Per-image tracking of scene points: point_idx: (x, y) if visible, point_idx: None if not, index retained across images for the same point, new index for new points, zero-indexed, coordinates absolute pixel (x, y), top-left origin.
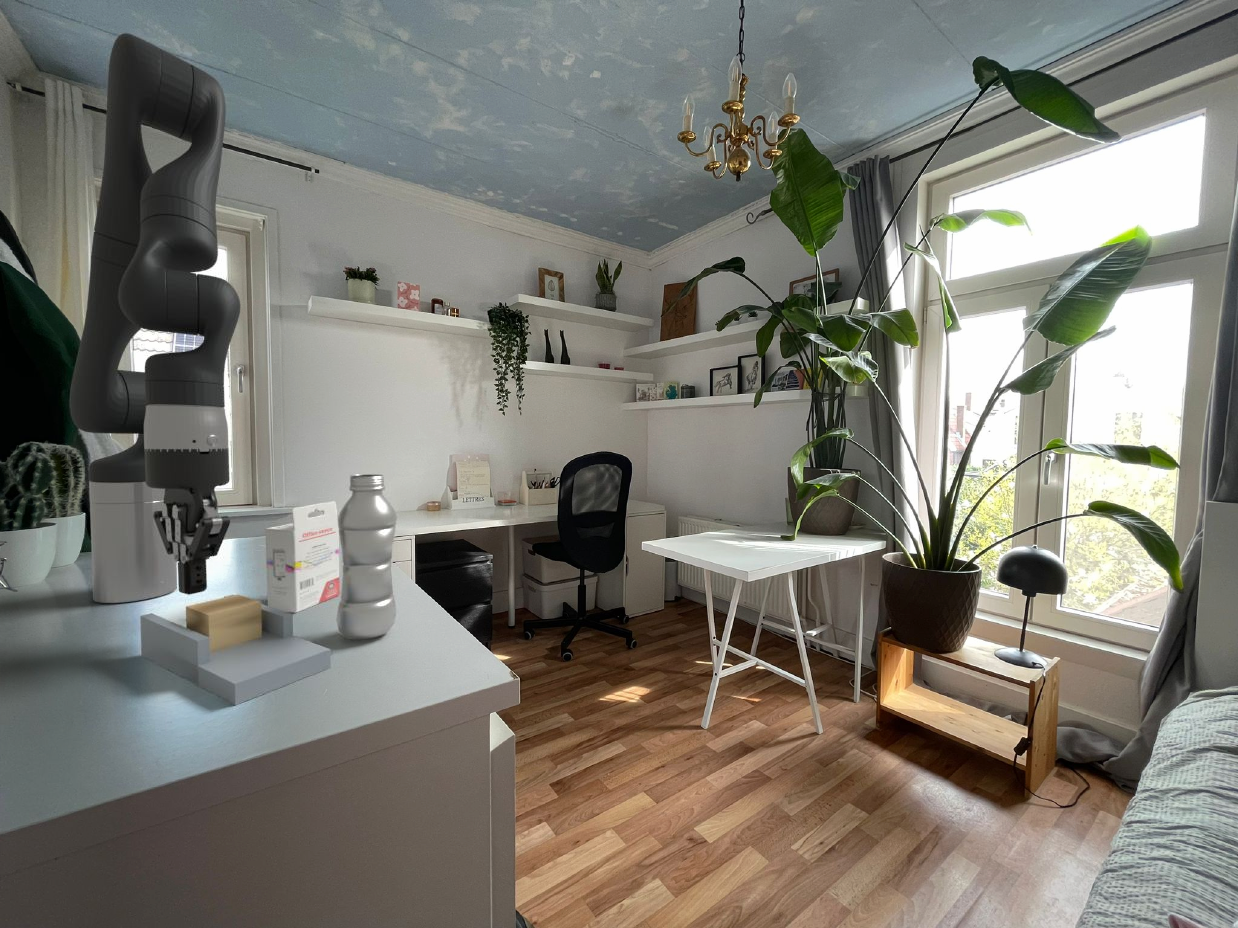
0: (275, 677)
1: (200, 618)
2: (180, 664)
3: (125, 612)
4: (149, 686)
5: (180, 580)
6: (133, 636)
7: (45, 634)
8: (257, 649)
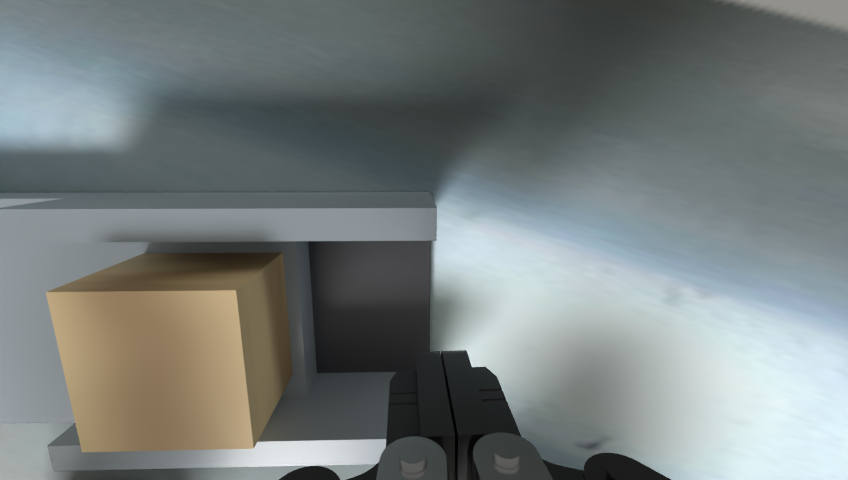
0: None
1: (129, 282)
2: (180, 195)
3: (842, 292)
4: (196, 129)
5: (451, 376)
6: (605, 232)
7: (844, 108)
8: None
